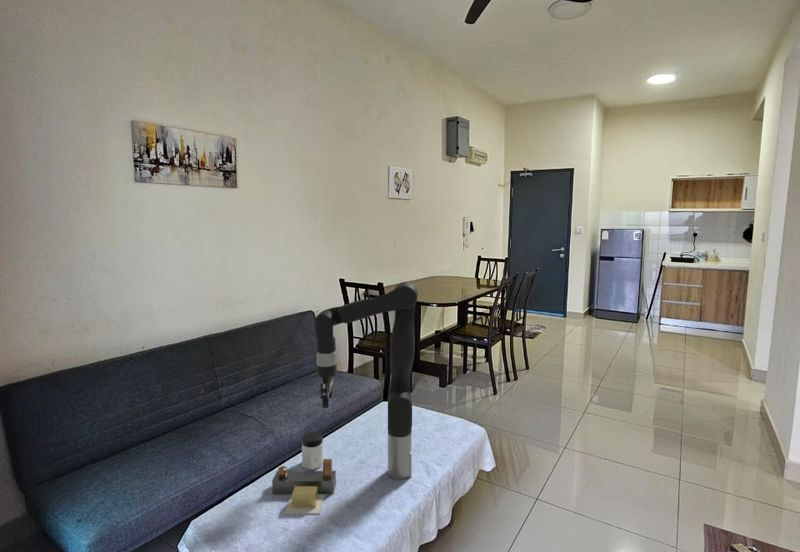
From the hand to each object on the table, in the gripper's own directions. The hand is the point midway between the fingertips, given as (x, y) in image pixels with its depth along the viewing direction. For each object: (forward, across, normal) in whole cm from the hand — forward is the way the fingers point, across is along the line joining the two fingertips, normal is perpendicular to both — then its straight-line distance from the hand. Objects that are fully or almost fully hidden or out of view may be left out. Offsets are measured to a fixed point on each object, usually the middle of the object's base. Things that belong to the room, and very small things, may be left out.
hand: (327, 402), depth 171 cm
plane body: (+28, -12, +7) cm, 31 cm away
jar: (+28, +4, +7) cm, 29 cm away
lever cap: (+28, -21, +5) cm, 35 cm away
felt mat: (+28, -21, +5) cm, 35 cm away
